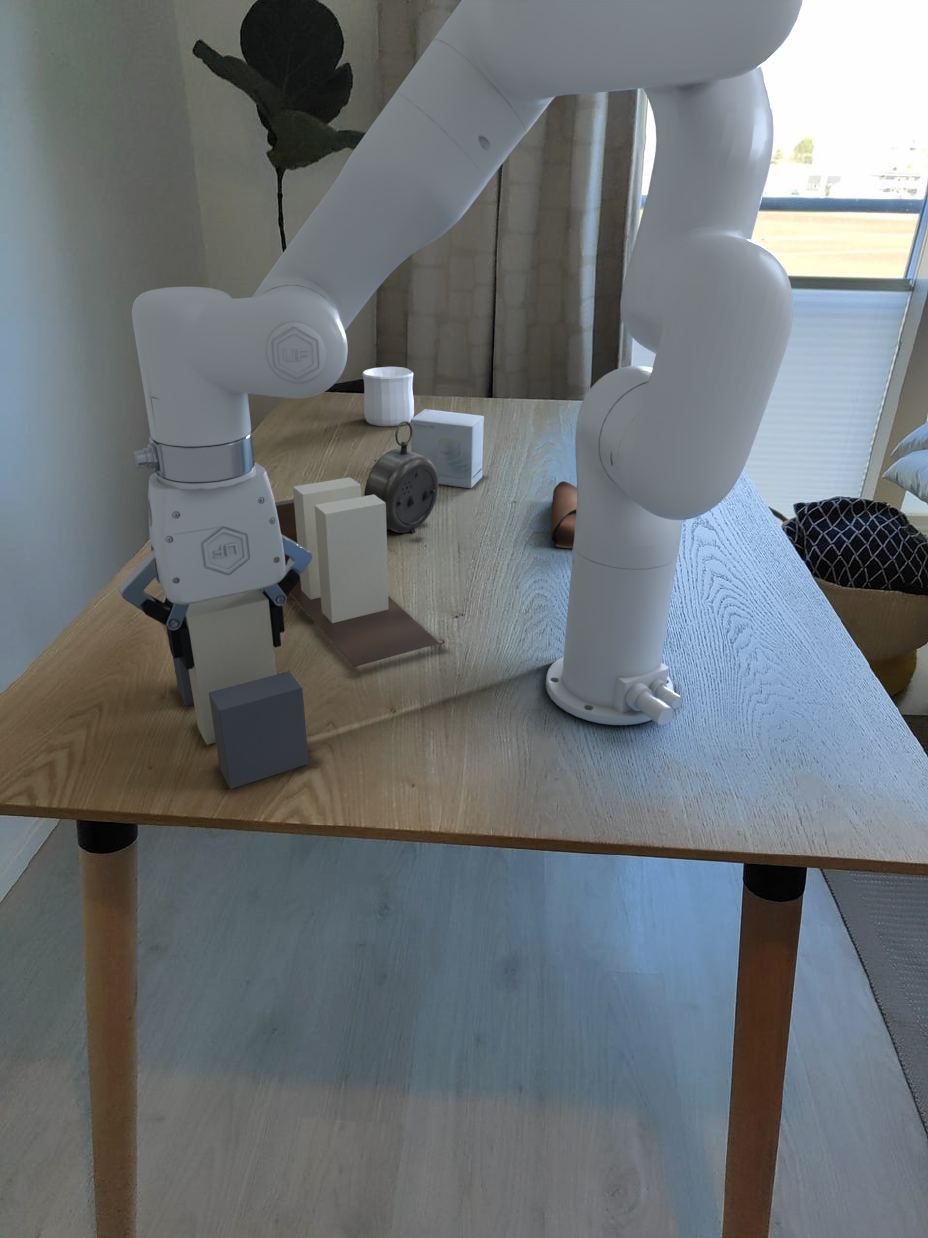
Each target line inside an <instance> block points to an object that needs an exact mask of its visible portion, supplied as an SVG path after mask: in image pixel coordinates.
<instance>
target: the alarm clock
mask: <svg viewBox="0 0 928 1238" xmlns="http://www.w3.org/2000/svg"><path fill="white" fill-rule="evenodd" d="M404 423H406V424H404ZM402 424H404V425H407V426H408V427H409V437H408V439H407V441H405V440H404V441H403V440H402V441H401V442H400V441H399V439H398V434H399V430H400V428H401V426H403V425H402ZM394 435H395V436H394V437H395V441H396V444H397V445H398V446H400V448H394V449H391V450H389V451H387V452H386V453H384V454H383V455H381V457H380V458H379V459H378V460H377V461H376V462H375V463H374V464H373V466H372V468H371V470H370V472H369V474H368V476H367V479H366V483H365V486H364V495H363V496H368V495H375V496H377V497H378V498H380V499H381V500H382V501H384V502H385V503H386V530H390V531H393V532H395V533H399V534H404V533H409V532H411V535H414V534H416V532H417V531H416V529H418V528H419V527H420V526H421V525H422V524H423V523H424V522H425V521H426V520H427V519H428V517H429V516H430V514H431V512H432V511H433V509H434V506H435V504H436V501H437V497H438V492H439V484H438V476H437V472H436V469H435V467H434V465H433V464H432V462H431V461H430V460H429V459H427V458H426V457H424V456H422V455H419V454H416V453H413V452H412V451H411V450H408V446H409V443H410V441H411V437H412V426H411V422H410V423H409V422H408V421H402V422H401V423H400V424H399V425H398V426H396V429H395V434H394Z"/></svg>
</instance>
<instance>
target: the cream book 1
mask: <svg viewBox="0 0 928 1238" xmlns="http://www.w3.org/2000/svg"><path fill="white" fill-rule="evenodd" d="M184 623H185V624H186V626H187V627H188V630H189V633H190V639H191V646H192V652H193V659H194V667H193V668H192V669H189V675H190V682H191V688H192V694H193V700H194V705H193V707H194V712H195V719H196V724H197V729H198V731H199V733H200V734H201V737H202V738H203V740H204V743H205V744H206V745H207V746H208V745H212V744H216V739H215V733H214V726H213V719H212V712H211V706H210V699H209V692H213V691H217V690H220V689H224V688H228V687H232V686H235V685H239V684H243V683H246V682H250V681H254V680H258V679H261V678H265V677H269V676H273V675H276V674H277V669H276V659H275V649H274V648H275V647H274V646H273V639H272V629H271V620H270V609H269V600H268V599H267V598H266V596H265V595H264V594H263V591H262V589H259V590H255V591H250V592H246V593H241V594H237V595H232V596H228V597H223V598H218V599H214V600H209V601H204V602H199V603H194V604H189V607H188V609H187V612H186V615H185V617H184Z"/></svg>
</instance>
